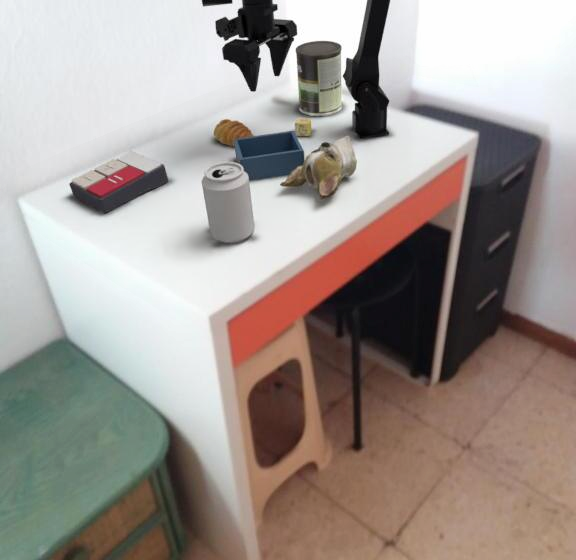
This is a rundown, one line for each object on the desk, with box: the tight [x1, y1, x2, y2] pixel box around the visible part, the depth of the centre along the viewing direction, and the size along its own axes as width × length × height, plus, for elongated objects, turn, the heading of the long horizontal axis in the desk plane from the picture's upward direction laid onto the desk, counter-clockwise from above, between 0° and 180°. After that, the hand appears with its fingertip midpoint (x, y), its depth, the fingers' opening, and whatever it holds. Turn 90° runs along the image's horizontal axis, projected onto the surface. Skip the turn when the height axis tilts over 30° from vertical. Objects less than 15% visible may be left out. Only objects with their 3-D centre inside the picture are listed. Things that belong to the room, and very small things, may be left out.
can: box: [201, 161, 255, 244], centre depth 98 cm, size 8×8×12 cm
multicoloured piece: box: [69, 151, 169, 214], centre depth 116 cm, size 11×4×15 cm
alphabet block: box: [294, 117, 312, 137], centre depth 132 cm, size 3×3×3 cm
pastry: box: [213, 118, 254, 147], centre depth 131 cm, size 9×7×4 cm
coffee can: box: [295, 40, 343, 117], centre depth 139 cm, size 10×10×14 cm
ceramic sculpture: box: [279, 135, 358, 200], centre depth 111 cm, size 11×9×15 cm
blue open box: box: [233, 130, 305, 181], centre depth 120 cm, size 12×10×5 cm
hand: (265, 83), depth 122 cm, fingers open, 9 cm apart
